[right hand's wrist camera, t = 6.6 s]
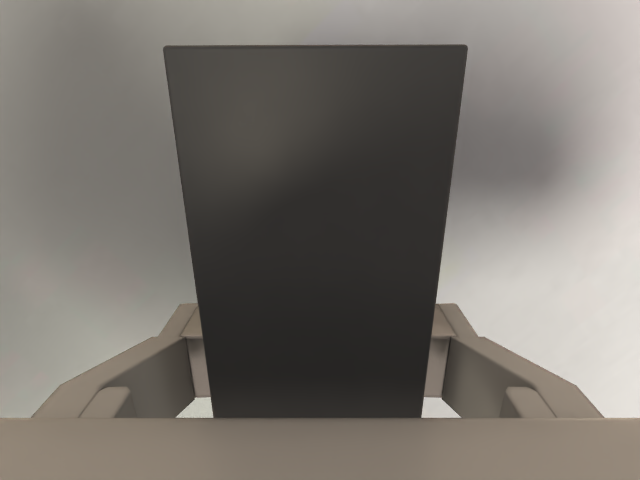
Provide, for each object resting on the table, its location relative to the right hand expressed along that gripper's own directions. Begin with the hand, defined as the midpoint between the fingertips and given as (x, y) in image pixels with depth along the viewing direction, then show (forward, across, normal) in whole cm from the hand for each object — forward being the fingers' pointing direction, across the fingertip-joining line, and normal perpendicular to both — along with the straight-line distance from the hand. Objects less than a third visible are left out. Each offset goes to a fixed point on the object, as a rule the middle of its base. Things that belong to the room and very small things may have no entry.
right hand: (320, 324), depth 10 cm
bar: (+3, 0, -30) cm, 30 cm away
